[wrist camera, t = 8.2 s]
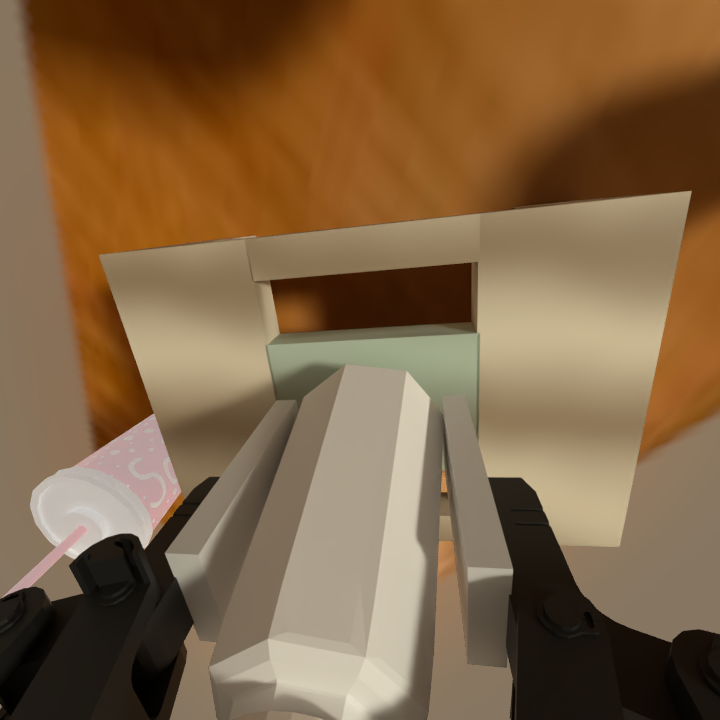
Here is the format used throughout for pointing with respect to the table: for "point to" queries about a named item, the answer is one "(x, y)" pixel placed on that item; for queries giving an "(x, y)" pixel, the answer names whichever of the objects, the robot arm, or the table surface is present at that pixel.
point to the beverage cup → (105, 496)
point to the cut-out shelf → (518, 297)
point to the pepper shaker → (341, 562)
